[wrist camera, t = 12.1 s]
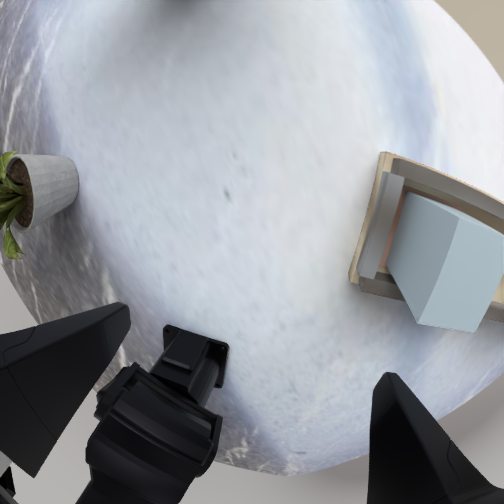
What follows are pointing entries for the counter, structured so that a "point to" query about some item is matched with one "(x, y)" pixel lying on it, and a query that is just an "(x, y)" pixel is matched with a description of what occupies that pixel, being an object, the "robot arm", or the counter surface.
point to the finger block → (445, 263)
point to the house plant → (33, 192)
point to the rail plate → (388, 212)
